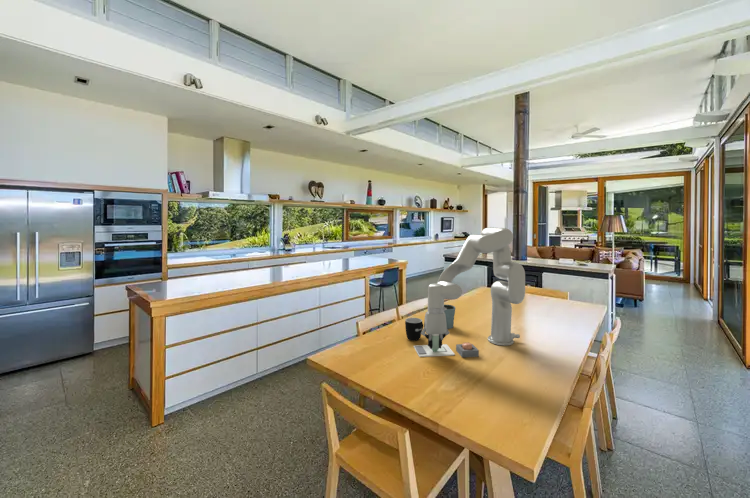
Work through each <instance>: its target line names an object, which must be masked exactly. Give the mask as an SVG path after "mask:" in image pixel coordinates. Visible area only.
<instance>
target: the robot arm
mask: <svg viewBox="0 0 750 498" xmlns="http://www.w3.org/2000/svg"><path fill="white" fill-rule="evenodd" d="M513 240H514V233H513V232H512V230H511V229H510V228H509V229H508V228H504V227H494V226H493V227H492V226H490V227H485V228H483V229H482V231H481V234H470V235H469V236H468V237H467V238H466V240H465V241H464V243H463V245H462V247H461V249H460V251H459V253H458V255H457V256H456V258H455V260H454V261H453V262H451V263H450V264H449V265H448V266H447V267H445V269H444V270H443V271H442V272H441V274H440V276H439V278H438V279H437V282H436V283H430V284H429V285H428V287H427V311H426V312H425V315H424V320H423V321H424V322H423V329H422V332H421V336H423V337H425V338H426V339H427V345H428V346H429V347H430V349H432V340H431V338H432V334H439V348H441V346H442V344H443V341H444V338H445V337H446V336H449V334H451V333H450V331H449V329H447V325H446V316H445V312H444V310H447V307H444V304H445V300H449V301H450V300H451V301H452V300H458V299H459V298H460V297H461V296H462V294H463V290H462V288H461V286H460V285H458V284H456V283H454V282H453V280H455V278H456V277H457V276H458V275H460V274H462V273H464V272H467V271H470V270H471V269H473V267H474V265H475V263H476V261H477V259H478V258H479V256H480V254H490V253H492V260H493V261H492V263H493V264H492V269H493V270H492V271H493V275H494V277H496V279H497V278H498V279H500V280H497V281H495V282H493V283H492V284H491V286H490V296H491V326H490V327H491V328H490V335H489V336H488V337H487V341H488V342H489V343H491V344H493V345H495V346H496V345H498V346H505V347H506V346H512V345H513V344H514V339H521V338H520V337H521V335H520V333H516V334H515V333H514V332H512V315H513V313H512V310H513V308H512V304H514V305H519V304H521V303H522V302H523V301H524V299H525V295H526V271H525V269H524V267H523V265H522V264H521V263H519V262H515V261H512V252H511V251H512V250H511V247H510V244H512V242H513Z"/></svg>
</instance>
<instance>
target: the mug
mask: <svg viewBox="0 0 750 498" xmlns="http://www.w3.org/2000/svg"><path fill="white" fill-rule="evenodd" d="M404 321H405V322H404V323H405V324H404V325H405V328H404V329H405V333H406V334H405V335H406V339H407V340H408V341H411V342H412V341H413V342H417V341H419V340H420V339H421V336H422V334H421V332H422V330H423V329H424V322H423V320H422V319H421V318H419V317H407V318H406V319H405V320H404Z"/></svg>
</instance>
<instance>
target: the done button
mask: <svg viewBox="0 0 750 498" xmlns="http://www.w3.org/2000/svg"><path fill="white" fill-rule="evenodd" d="M462 344H463V347H462V348H463V349H464V350H469V349H472V344H473V343H471V342H463V343H462Z"/></svg>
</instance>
